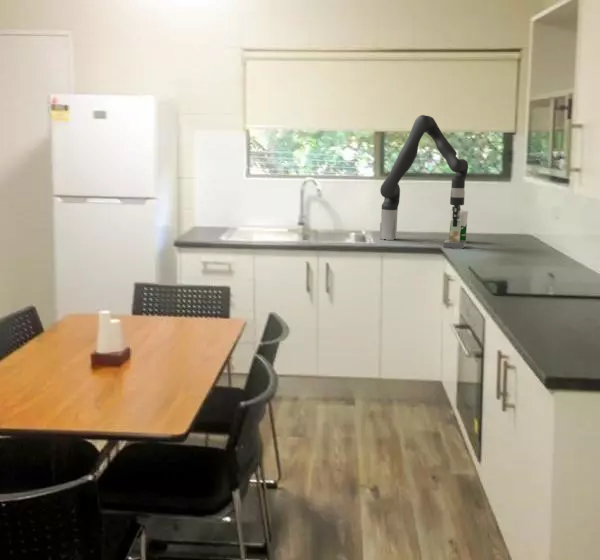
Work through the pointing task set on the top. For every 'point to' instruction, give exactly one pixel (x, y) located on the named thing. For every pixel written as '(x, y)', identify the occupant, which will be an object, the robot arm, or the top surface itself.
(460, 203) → the robot arm
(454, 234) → the maple block
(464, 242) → the slate base
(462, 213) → the soya milk
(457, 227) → the sage block
